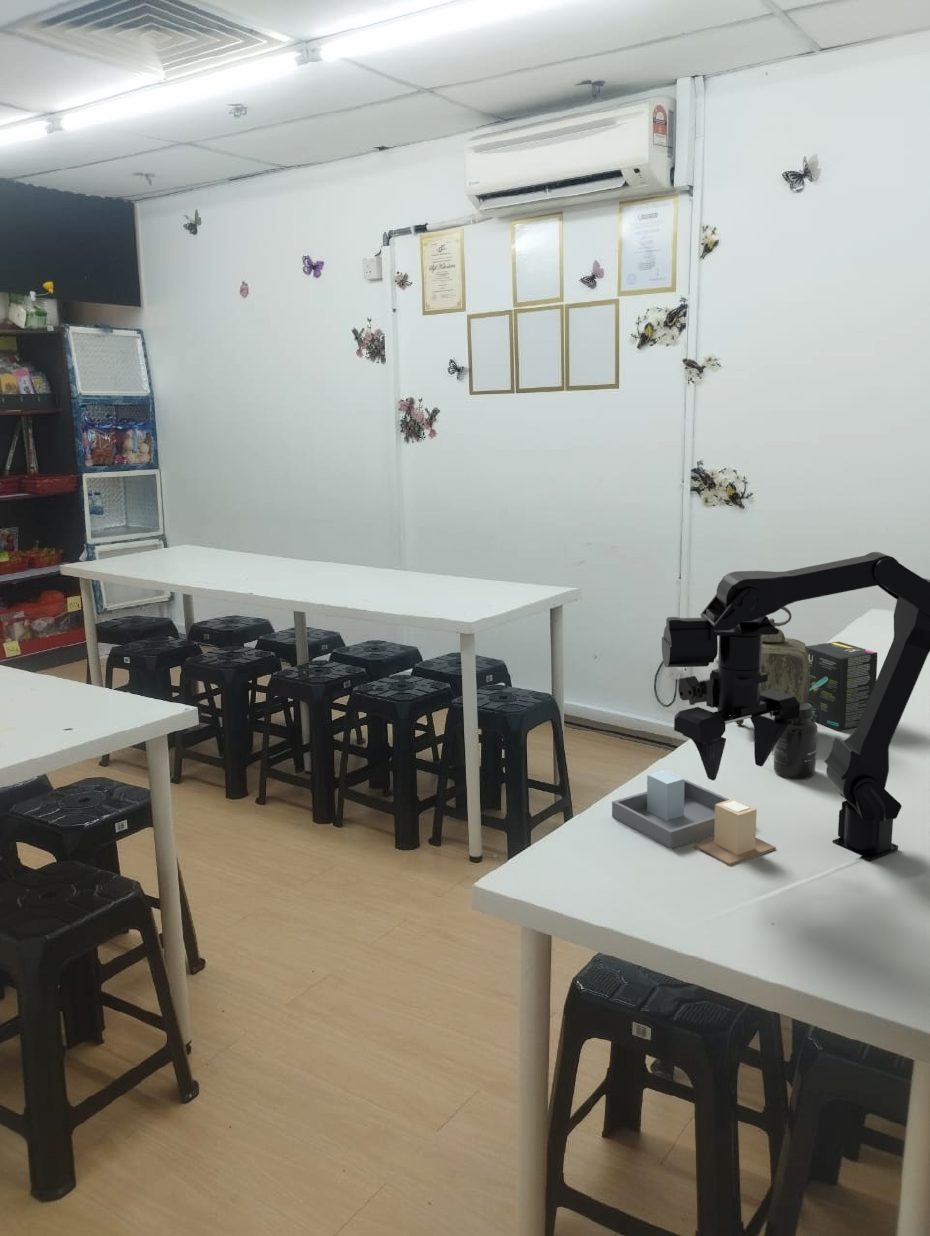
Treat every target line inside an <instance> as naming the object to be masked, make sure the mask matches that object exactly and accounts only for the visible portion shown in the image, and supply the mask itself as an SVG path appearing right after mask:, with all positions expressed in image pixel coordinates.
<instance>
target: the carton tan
mask: <svg viewBox="0 0 930 1236" xmlns="http://www.w3.org/2000/svg"><path fill="white" fill-rule="evenodd" d="M729 799H730V800H727V801H724V802H721V803H718V804H715V826H714V834H713V836H714V837H713V838H714V843H715V844H717V845H719V846H721V847H722V848H724V849H726V850H728V851H730V852H732V853H734V854H736V855H739V854H742V853H745V852H747V851H750V850H753V849H755V839H756V838H757V837H756V835H757V834H756V833H757V808H754V807H752V806H750V805H748V804H746V803H744V802H741V801H739V800H737V799H734V798H729Z"/></svg>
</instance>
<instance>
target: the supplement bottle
mask: <svg viewBox="0 0 930 1236" xmlns="http://www.w3.org/2000/svg"><path fill="white" fill-rule="evenodd" d="M799 704H800V709H799V717H796V718H793V719H792V720H793V722H792V724H790V725H788V727H787V728H786V730H785V731H784V733H783V734H782V736H781V737H780V738H779V740H778V741H777V743H776V745H775V746H774V748H773V749H774V750H773V751H774V752H773V770H774V772H775V774H777V775H779V776H781V777H784V778H788V779H796V780H802V779H808V778H811V777H813V776H814V775H815V772H816V763H817V762H816V761H817V749H818V748H817V745H818V726H817V724H816V722H815V721H812V720H811V718H812V706H811V705H809V704H806V703H801V702H799Z"/></svg>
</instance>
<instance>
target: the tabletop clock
mask: <svg viewBox="0 0 930 1236" xmlns="http://www.w3.org/2000/svg"><path fill="white" fill-rule="evenodd" d="M780 610H783V611H784V612H785V613H787V614H788V618H787V619H786V620H784V621H781V622H775V619H774V618H768V619H769V621H770V622H771V623H772V625H773V626H774V627H776V628H777V629H778V630H779V633H778V634H775V635H763V640H762V663H761V672H762V673H766V674H768V681H766V682H762V683H761V689H760V692H761V691H766V690H770V689H772V690H775V691H778V692H782V693H785V694H788V695H791V696H795V698H796V699H797V701H798V702H801V703H806V704H807V703H808V698H809V690H810V667H809V657H808V651H807V648H806V646H807V645H806V644H805V642H803V641H801V640H799V639H796V638H793V637H785V634H784V632H783V630H782V629H780V628H778V627H782V626H785V625H787V624H788V623H789V622H791V620H792V613H791V611H790V610H789V608H787V607H786V606H785V607H783V608H781V609H780ZM744 721H745V719H743V720H739V721H736V722H735V724H736V725H738V726H739V725H740V726H741V725H743V724H744Z"/></svg>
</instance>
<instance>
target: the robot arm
mask: <svg viewBox="0 0 930 1236" xmlns="http://www.w3.org/2000/svg"><path fill="white" fill-rule="evenodd" d="M876 586H878V588H880V589H881V590H883V591H884V592H885V593H887V594H888V595H890V596H891V597H892V598H894V599H895V600H896V603H895V607H894V611H893V639H892V642H891V644H890V647H889V650H888V652H887V654H886V657H885V659H884V661H883V664H882V667H881V669H880V671H879V673H878V675H877V677H876V683H875V685H874V687H873V690H872V692H871V695H870V697H869V699H868V702H867V704H866V707H865V709H864V711H863V714H862V716H861V719H860V721H859V723H858V726H857V727H855V728H856V729H855V730H854V732H853V733H851V734H850V735H849V736H848V737H847V738H846V739H845V740H843V739H841V738H839V737H835V738H834V740H833V742H832V746H831V750H830V752H829V755H828V756H827V757H826V758H825V759H824V763H825V764H826V765H827V767H826V776H827V778H828V781H829V783H831V785H832V786H833V787H834V788H835V789H837V791H838V792H839V795H840V797H842V798H844V801H842V802H841V809H839V810H838V826H837V836H838V837H837V838H835V839H833V840H832V844H834V845H837V846H839V847H840V848H843V849H846V850H848V851H850V852H853V853H854V854H856V855H857V854H858V855H859V856H860V858H862V859H864V860H867V861H874V860H875V859H878V858H881V857H882V856H883V857H884V856H885V855H888V854H891V853H893V852H896V851H897V850H899V845H897V844H895V843H893V842H892V841H893V828H894V827H893V826H894V820H896V819H897V818H898V815H899V814H900V811H901V809H902V806H903V805H902V804H901V803H900V801H898V800H897V799H896V798H895V797H894V796H892V795H891V794H890V793H889V792H888V791H887V790H886V785H887V781H888V777H889V773H890V754H889V753H890V752H889V750H890V745H891V742H892V740H893V738H894V735H895V733H896V730H897V728H898V726H899V723H900V721H901V719H902V717H903V714H904V712H905V709H906V707H907V705H908V702H909V700H910V698H911V696H912V693H913V691H914V688H915V686H916V684H917V681H918V679H919V677H920V674H921V672H922V671H923V668H924V665H925V663H926V661H927V658H928V656H929V654H930V579H929V578H924V577H922V576H920V575H918V574H917V573H916V572H914V571H912V570H910V569H909V568H907V567H906V566H904V565H903V564H901V563H900V562H899V561H898V560H897V559H896V558H895V557H893V556H892V555H887V554H885V553H881V552H879V551H872V552H869V553H867V554H865V555H861V556H855V557H850V558H845V559H841V560H836V561H835V560H834V561H830V562H825V563H821V564H815V565H810V566H805V567H800V568H794V569H791V570H786V571H769V570H768V571H766V570H743V571H742V570H738V571H732V572H729V573H726V574H725V575H724V576H723V577H722V578H721V580H720V581H719V583H718V584H717V587H716V594H715V595H714V597H712V599H711V601H710V602H709V603H708V604H707V605H706V607H705V608H704V609H703V610H702V612H701V613H700V617H678V616H667V618H665V619H666V624H665V627H664V630H663V636H662V637H661V654H662V661H663V665H664V666H665V668H687V667H688V668H691V667H692V668H693V667H694V668H695V667H696V668H697V667H708V666H709V665H710V664H711V663H714V662H715V660H716V658H717V656H718V658H717V659H718V660H717V661H718V662H717V663H718V664H717V669H712V670H710V671H711V672H710V673H709V678H706V679H702V680H701V679H700V680H699V679H698V677H697V676H696V675H692V676H687V677H681V678H679V680H678V681H679V682H678V694H679V695H678V696H679V698H680V699H681V701H689V702H688V703H689V706H694V705H696V704H699V703H705V702H706V707H710V708H715V709H717V711H710V710H707V709H705V708H703V707H699V706H696V707H692V708H691V707H690V708H687V709H683V710H682V709H681V710H678V712H677V713H676V714H674V719H673V721H674V725H673V729H674V730H673V731H674V732H677V733H679V734H682V736H684V737H687V738H689V739H690V740H691V741H692V742H693V743H694V745H695V747H696V749H697V751H698V753H699V756H700V759H701V762H702V765H703V768H704V771H705V773H706V777H707V779H708V780H711V781H716V779H717V776H718V773H719V769H720V766H721V762H722V757H723V754H724V750H725V745H726V741H727V738H726V737H723V735H724V734H725V732H726V725H728V724H731V723H736V721H739V720H746V719H750V720H751V723H752V724H753V728H754V730H753V732H754V733H753V735H754V736H753V737H754V738H753V739H754V741H753V743H754V746H753V748H754V749H753V750H754V754H753V755H754V763H755V765H756V766H758V767H759V768H760V767H761V768H762V767H763V766H764V764H765V763H766V761H767V760H768V758H769V756H770V755H771V753H772V751H774V750H773V749H774V746H775V745H776V743H777V741H778V740H779V738H780V737H781V736H782V734H783V733H784V731H785V730H786V728H787V727H788V725H790V724H792V722H793V720H792V719H793V718H796V717H799V709H800V704H799V702H798V701H797V699H796V698H795V696H791V695H788V694H785V693H782V692H778V691H775V690H772V689H770V690H766V691H761V692H760V689H761V683H762V682H766V681H768V674H766V673H762V672H761V663H762V640H763V635H775V634H778V633H779V630H778V629H779V628H778V627H777V626H776V627H774V626H773V625H772V623H771V622H770V621H769V619H770V618H769V617H768V616H769V615H771V614H775V613H776V612H778V611H779V610H782V609H781V608H783V607H786V606H789V605H791V604H793V603H797V602H800V601H807V600H811V599H815V598H821V597H827V596H831V595H835V594H841V593H845V592H850V591H856V590H861V589H862V590H863V589H865V588H871V587H872V588H873V587H876ZM777 628H778V629H777Z"/></svg>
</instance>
